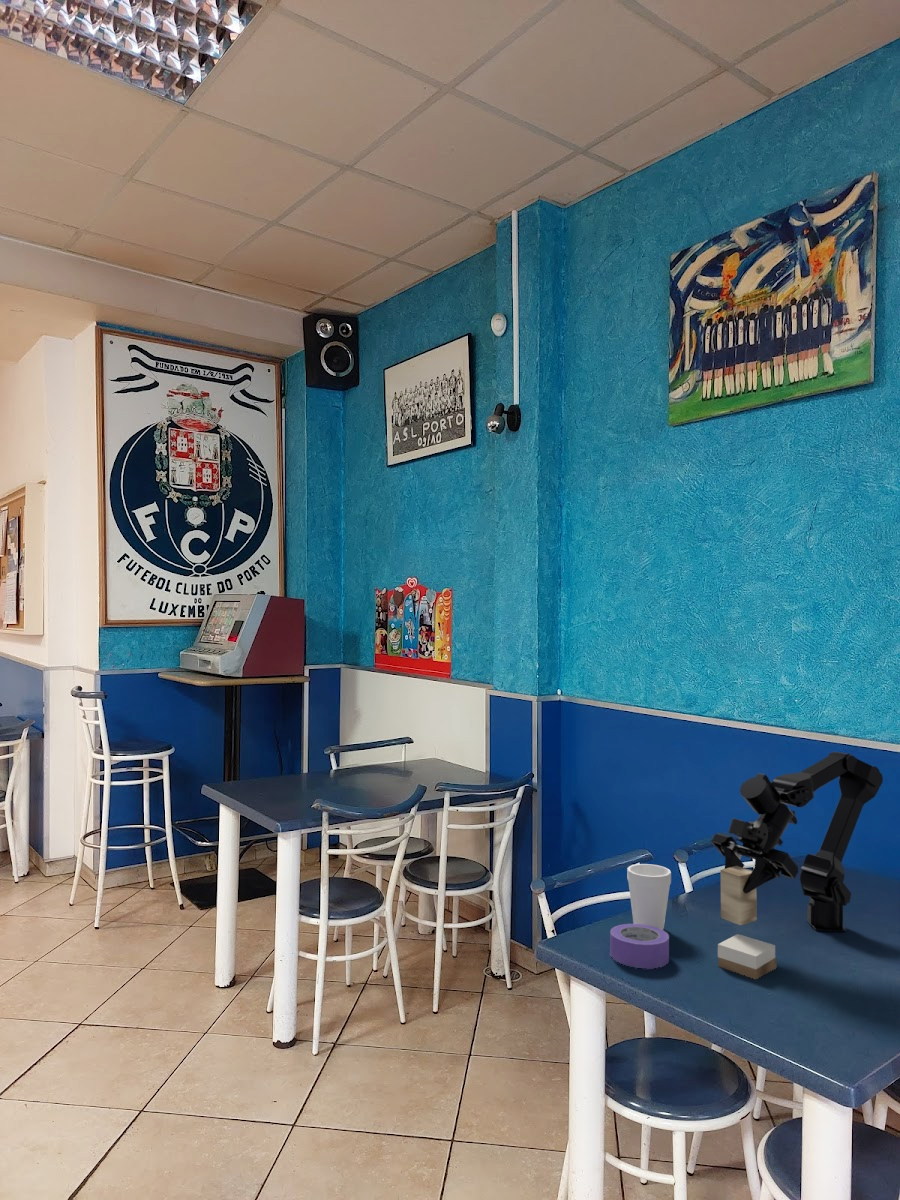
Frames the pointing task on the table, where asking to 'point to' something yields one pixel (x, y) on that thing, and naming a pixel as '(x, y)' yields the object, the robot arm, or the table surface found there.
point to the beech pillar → (737, 896)
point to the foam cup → (649, 893)
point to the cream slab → (746, 951)
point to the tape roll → (639, 945)
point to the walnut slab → (748, 968)
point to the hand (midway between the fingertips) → (734, 888)
